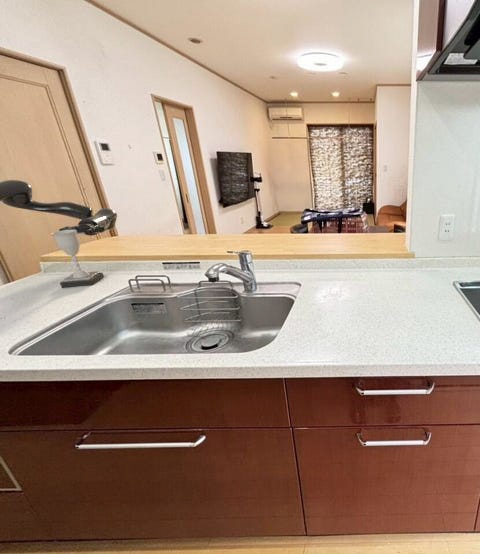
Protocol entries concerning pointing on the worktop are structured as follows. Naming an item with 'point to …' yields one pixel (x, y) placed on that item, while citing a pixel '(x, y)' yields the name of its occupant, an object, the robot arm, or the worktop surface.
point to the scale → (82, 280)
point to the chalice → (70, 248)
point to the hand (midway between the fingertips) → (75, 233)
